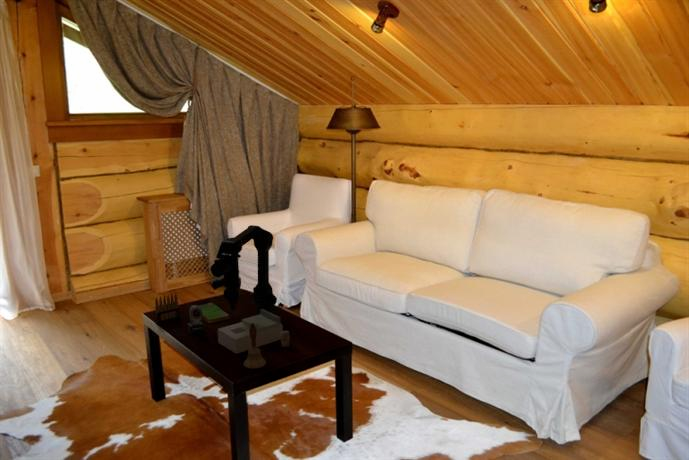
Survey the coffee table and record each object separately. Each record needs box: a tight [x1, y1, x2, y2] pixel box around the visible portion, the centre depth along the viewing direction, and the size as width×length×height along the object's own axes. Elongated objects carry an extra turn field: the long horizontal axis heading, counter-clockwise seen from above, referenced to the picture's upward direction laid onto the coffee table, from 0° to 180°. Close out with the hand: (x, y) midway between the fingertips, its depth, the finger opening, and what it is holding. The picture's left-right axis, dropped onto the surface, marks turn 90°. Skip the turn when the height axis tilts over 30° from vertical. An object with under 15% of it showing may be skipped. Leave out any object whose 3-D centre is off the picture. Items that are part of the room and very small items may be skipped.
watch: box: [186, 305, 205, 334], centre depth 245 cm, size 6×8×11 cm
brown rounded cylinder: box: [280, 330, 290, 348], centre depth 231 cm, size 3×3×6 cm
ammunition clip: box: [154, 293, 181, 325], centre depth 257 cm, size 11×2×12 cm, turn 129°
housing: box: [217, 321, 284, 354], centre depth 235 cm, size 22×14×6 cm, turn 131°
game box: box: [196, 302, 230, 324], centre depth 265 cm, size 3×10×20 cm
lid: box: [241, 309, 282, 331], centre depth 237 cm, size 10×13×3 cm
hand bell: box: [243, 323, 267, 370], centre depth 214 cm, size 8×8×16 cm
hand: (233, 306), depth 237 cm, fingers open, 9 cm apart
